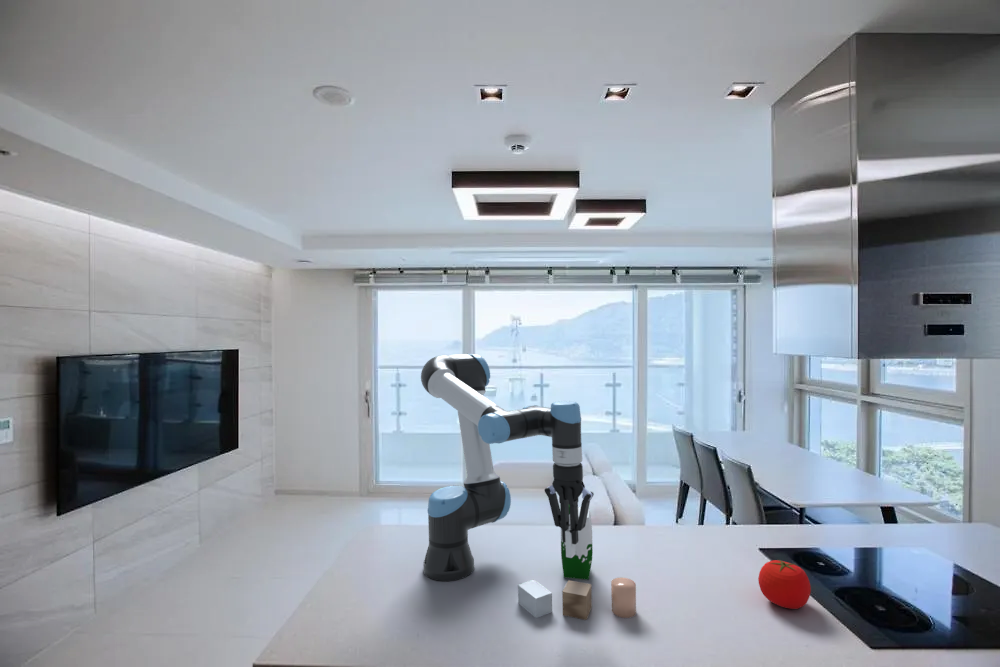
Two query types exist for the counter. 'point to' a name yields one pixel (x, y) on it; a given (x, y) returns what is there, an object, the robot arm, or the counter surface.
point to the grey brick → (535, 598)
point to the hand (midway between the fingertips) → (571, 555)
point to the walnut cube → (577, 599)
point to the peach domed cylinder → (623, 597)
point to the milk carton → (579, 552)
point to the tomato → (784, 584)
